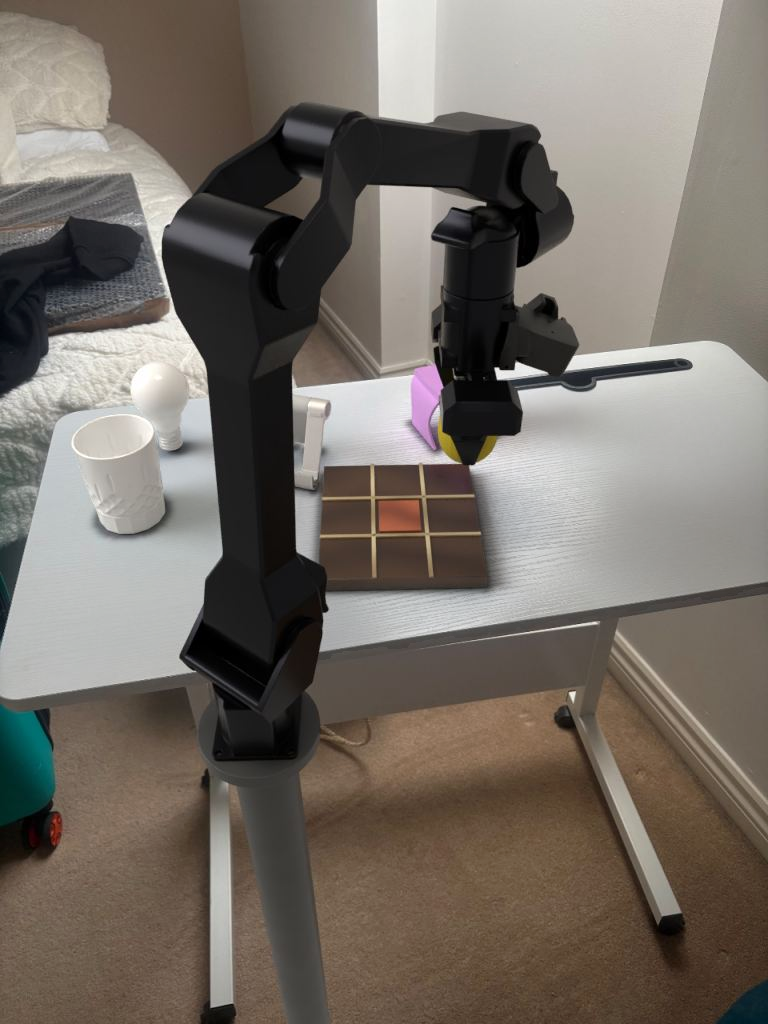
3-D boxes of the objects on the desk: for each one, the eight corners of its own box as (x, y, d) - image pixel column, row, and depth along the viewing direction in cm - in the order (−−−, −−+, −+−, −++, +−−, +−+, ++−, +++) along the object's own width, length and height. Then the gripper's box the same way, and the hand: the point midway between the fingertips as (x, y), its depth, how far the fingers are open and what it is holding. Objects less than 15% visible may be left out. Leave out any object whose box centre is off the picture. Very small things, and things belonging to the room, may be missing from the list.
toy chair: (404, 419, 101) (405, 305, 92) (468, 404, 104) (476, 291, 94) (434, 456, 95) (439, 338, 86) (501, 438, 98) (513, 322, 88)
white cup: (127, 549, 83) (106, 469, 77) (79, 519, 87) (54, 440, 81) (186, 509, 88) (171, 431, 82) (138, 482, 92) (119, 405, 85)
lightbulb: (134, 460, 95) (114, 376, 88) (159, 430, 100) (141, 348, 93) (186, 467, 94) (169, 383, 87) (208, 436, 99) (194, 354, 92)
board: (486, 587, 79) (488, 574, 78) (318, 591, 79) (317, 578, 77) (467, 474, 93) (468, 461, 92) (324, 476, 92) (323, 464, 91)
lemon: (495, 449, 80) (502, 376, 75) (494, 483, 75) (502, 408, 70) (437, 445, 80) (441, 372, 75) (433, 479, 76) (437, 404, 71)
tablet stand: (240, 480, 92) (231, 416, 87) (268, 441, 98) (261, 379, 92) (313, 494, 90) (308, 429, 85) (337, 453, 96) (334, 391, 90)
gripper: (603, 339, 60) (571, 509, 69) (558, 242, 74) (538, 394, 84) (447, 339, 59) (438, 509, 69) (434, 242, 74) (427, 394, 84)
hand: (466, 446), depth 77 cm, fingers closed on lemon, 5 cm apart
